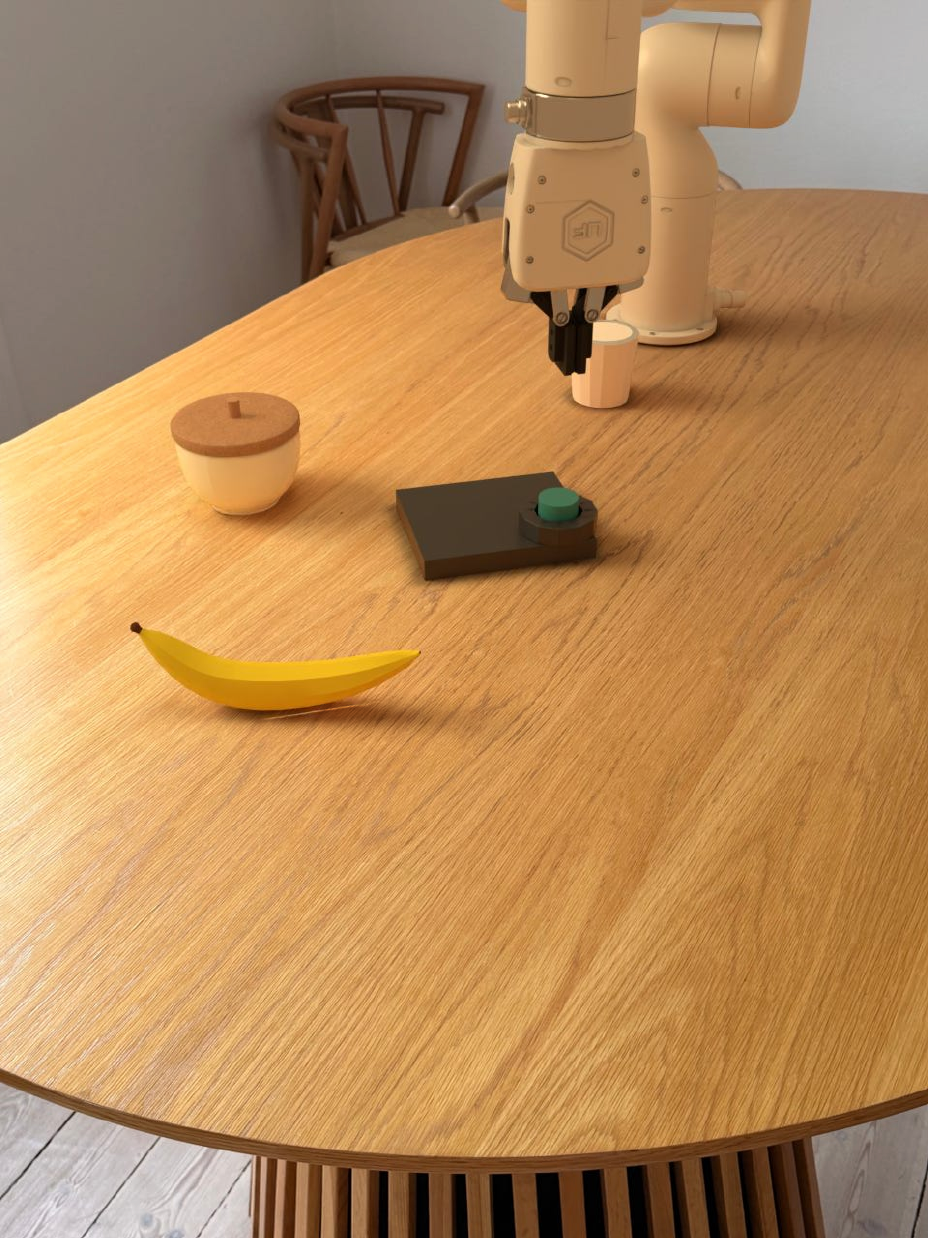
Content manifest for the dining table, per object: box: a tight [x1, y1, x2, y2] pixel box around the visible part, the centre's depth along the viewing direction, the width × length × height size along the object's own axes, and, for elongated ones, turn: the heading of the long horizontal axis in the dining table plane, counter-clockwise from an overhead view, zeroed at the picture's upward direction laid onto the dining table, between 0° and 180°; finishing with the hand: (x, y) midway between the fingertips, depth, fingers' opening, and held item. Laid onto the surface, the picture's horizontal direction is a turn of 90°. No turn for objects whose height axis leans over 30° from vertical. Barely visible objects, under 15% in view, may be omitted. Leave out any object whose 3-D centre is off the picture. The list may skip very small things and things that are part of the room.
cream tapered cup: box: [571, 319, 639, 409], centre depth 121 cm, size 7×7×7 cm
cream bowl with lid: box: [170, 391, 301, 516], centre depth 103 cm, size 11×11×9 cm
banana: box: [129, 621, 422, 711], centre depth 80 cm, size 3×19×6 cm, turn 86°
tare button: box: [538, 487, 580, 522], centre depth 97 cm, size 3×3×2 cm
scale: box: [395, 470, 599, 582], centre depth 100 cm, size 15×12×4 cm
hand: (569, 367), depth 93 cm, fingers closed
